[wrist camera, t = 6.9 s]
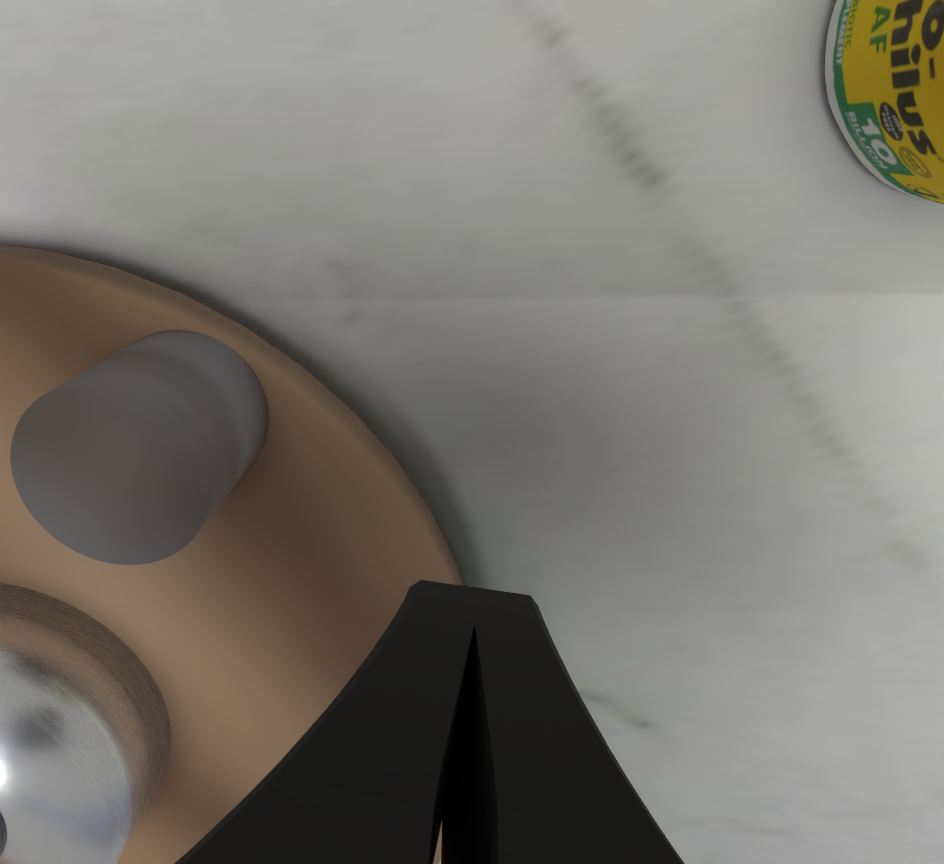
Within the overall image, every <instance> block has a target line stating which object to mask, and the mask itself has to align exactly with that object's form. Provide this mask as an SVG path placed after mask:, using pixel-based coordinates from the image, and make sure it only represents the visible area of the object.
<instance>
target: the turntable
mask: <svg viewBox="0 0 944 864" xmlns="http://www.w3.org/2000/svg"><path fill="white" fill-rule="evenodd" d="M420 580H426V581H433V582H440V583H447V584H454V585H461V586H463V583H462V580H461V577H460V574H459V571H458V568H457V565H456V562H455V559H454V557H453V555H452V553H451V551H450V549H449V547H448V545H447V543H446V541H445V539H444V537H443V535H442V533H441V531H440V529H439V527H438V525H437V523H436V521H435V519H434V517H433V515H432V513H431V511H430V509H429V507H428V506H427V504H426V503H425V501H424V500H423V498H422V497H421V496H420V494H419V493H418V491H417V490H416V488H415V487H414V485H413V484H412V482H411V481H410V479H409V478H408V477H407V475H406V474H405V472H404V471H403V469H402V468H401V466H400V465H399V463H398V462H397V460H396V459H395V458H394V457H393V455H392V454H391V453H390V452H389V451H388V450H387V449H386V448H385V446H384V445H383V444H382V443H381V442H380V441H379V440H378V439H377V437H376V436H375V435H374V434H373V433H372V432H371V431H370V430H369V428H368V427H367V426H366V425H365V424H364V423H363V422H362V421H361V419H360V418H359V417H358V416H357V415H356V414H355V413H354V412H353V410H351V409H350V408H349V407H348V406H347V405H346V404H345V403H343V402H342V401H341V400H340V399H339V398H338V397H337V396H336V395H334V394H333V393H332V392H331V391H330V390H329V389H328V388H326V387H325V386H324V385H323V384H322V383H321V382H320V381H319V380H317V379H316V378H315V377H314V376H313V375H312V374H311V373H309V372H308V371H307V370H306V369H305V368H304V367H303V366H301V365H300V364H298V363H297V362H295V361H294V360H293V359H291V358H290V357H288V356H287V355H285V354H284V353H282V352H281V351H280V350H278V349H277V348H275V347H274V346H272V345H271V344H269V343H268V342H267V341H265V340H264V339H262V338H261V337H259V336H258V335H256V334H255V333H253V332H252V331H251V330H249V329H248V328H246V327H245V326H243V325H241V324H239V323H237V322H235V321H233V320H231V319H230V318H228V317H226V316H224V315H222V314H220V313H218V312H216V311H214V310H213V309H211V308H209V307H207V306H205V305H203V304H201V303H199V302H198V301H196V300H194V299H192V298H190V297H188V296H186V295H184V294H182V293H180V292H177V291H175V290H172V289H169V288H167V287H164V286H162V285H159V284H157V283H154V282H151V281H149V280H146V279H144V278H141V277H139V276H136V275H133V274H131V273H128V272H126V271H123V270H121V269H118V268H115V267H111V266H107V265H103V264H100V263H96V262H92V261H88V260H84V259H80V258H76V257H72V256H68V255H64V254H60V253H56V252H52V251H49V250H42V249H34V248H26V247H18V246H10V245H2V244H0V583H4V584H9V585H14V586H20V587H24V588H27V589H31V590H34V591H37V592H41V593H44V594H47V595H49V596H51V597H54V598H56V599H59V600H61V601H63V602H66V603H68V604H70V605H71V606H73V607H75V608H77V609H79V610H81V611H83V612H84V613H86V614H88V615H89V616H91V617H92V618H94V619H95V620H97V621H98V622H100V623H101V624H103V625H104V626H105V627H107V628H108V629H109V630H110V631H111V632H113V633H114V634H115V635H116V636H117V637H119V638H120V639H121V640H122V641H123V642H124V643H125V644H126V645H127V646H128V647H129V648H130V649H131V650H132V651H133V652H134V653H135V654H136V655H137V657H138V658H139V659H140V661H141V662H142V663H143V664H144V666H145V667H146V668H147V670H148V671H149V673H150V674H151V676H152V678H153V679H154V681H155V683H156V684H157V686H158V688H159V690H160V692H161V695H162V697H163V700H164V702H165V704H166V708H167V712H168V716H169V719H170V727H171V752H170V756H169V760H168V764H167V768H166V770H165V772H164V774H163V777H162V779H161V781H160V783H159V785H158V787H157V788H156V790H155V792H154V794H153V796H152V798H151V800H150V801H149V803H148V805H147V807H146V809H145V811H144V813H143V815H142V816H141V818H140V820H139V822H138V824H137V826H136V828H135V830H134V831H133V833H132V835H131V837H130V839H129V841H128V843H127V844H126V846H125V848H124V850H123V852H122V854H121V856H120V858H119V859H118V861H117V863H116V864H174V863H175V862H177V861H178V860H179V859H180V858H181V857H182V856H183V855H185V854H186V853H187V852H188V851H189V850H190V849H191V848H192V847H193V846H195V845H196V844H197V843H198V842H199V841H200V840H201V839H202V838H203V837H204V836H205V835H206V834H207V833H208V832H209V831H210V830H212V829H213V828H214V827H215V826H216V825H217V824H218V823H219V822H220V821H221V820H222V819H223V818H224V817H225V816H226V815H227V814H228V813H229V812H230V811H231V810H233V809H234V808H235V807H236V806H237V805H238V804H239V803H240V802H241V801H242V800H243V799H244V798H245V797H246V796H247V795H248V794H249V793H250V792H251V791H252V790H253V789H254V788H255V787H256V786H257V785H258V784H259V783H260V781H261V780H262V779H263V778H264V777H265V776H266V775H267V774H268V773H269V772H270V771H271V770H272V769H273V768H274V767H275V766H276V765H277V764H278V763H279V762H280V761H281V760H282V758H283V757H284V756H285V755H286V754H287V753H288V752H289V751H290V749H291V748H292V747H293V746H294V745H295V744H296V743H297V741H298V740H299V739H300V738H301V737H302V736H303V735H304V734H305V732H306V731H307V730H308V729H309V728H310V727H311V726H312V725H313V723H314V722H315V721H316V720H317V719H318V718H319V717H320V715H321V714H322V713H323V712H324V711H325V710H326V709H327V708H328V706H329V705H330V704H331V703H332V702H333V700H334V699H335V698H336V697H337V695H338V694H339V693H340V692H341V690H342V689H343V688H344V686H345V685H346V684H347V682H348V681H349V680H350V679H351V677H352V676H353V675H354V673H355V672H356V671H357V669H358V668H359V667H360V666H361V664H362V663H363V662H364V660H365V659H366V658H367V656H368V655H369V654H370V652H371V651H372V650H373V648H374V647H375V645H376V644H377V642H378V641H379V639H380V638H381V636H382V635H383V634H384V632H385V631H386V629H387V628H388V626H389V625H390V623H391V621H392V620H393V618H394V617H395V615H396V613H397V611H398V610H399V608H400V606H401V604H402V602H403V601H404V599H405V597H406V594H407V592H408V590H409V587H411V586H412V585H414V584H415V583H417V582H418V581H420ZM441 849H442V823H441V828H440V833H439V838H438V843H437V848H436V853H435V858H434V863H433V864H438V863H439V861H440V859H441Z"/></svg>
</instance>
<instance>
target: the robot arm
mask: <svg viewBox="0 0 944 864" xmlns="http://www.w3.org/2000/svg"><path fill="white" fill-rule="evenodd" d="M441 823H442V849H441V864H684V862H683V861H682V859H681V858H680V857H679V855H678V854H677V852H676V851H675V850H674V848H673V847H672V845H671V844H670V842H669V841H668V839H667V838H666V836H665V835H664V833H663V832H662V831H661V829H660V828H659V826H658V825H657V823H656V822H655V820H654V819H653V817H652V815H651V814H650V812H649V811H648V809H647V808H646V806H645V805H644V803H643V802H642V800H641V798H640V797H639V795H638V794H637V792H636V791H635V789H634V788H633V786H632V784H631V783H630V781H629V780H628V778H627V777H626V775H625V773H624V772H623V770H622V768H621V767H620V765H619V763H618V762H617V760H616V758H615V757H614V755H613V753H612V752H611V750H610V749H609V747H608V745H607V743H606V741H605V740H604V738H603V736H602V734H601V733H600V731H599V729H598V727H597V725H596V724H595V722H594V720H593V718H592V717H591V715H590V713H589V711H588V709H587V708H586V706H585V704H584V702H583V701H582V699H581V697H580V695H579V693H578V691H577V689H576V687H575V685H574V683H573V682H572V680H571V678H570V676H569V674H568V672H567V670H566V668H565V665H564V663H563V661H562V659H561V657H560V655H559V653H558V651H557V649H556V647H555V645H554V643H553V640H552V638H551V636H550V634H549V631H548V629H547V627H546V624H545V622H544V620H543V617H542V615H541V612H540V610H539V607H538V605H537V604H536V603H535V601H534V600H533V598H532V597H531V596H530V595H524V594H517V593H510V592H503V591H496V590H489V589H482V588H475V587H468V586H461V585H454V584H447V583H440V582H433V581H426V580H420V581H418V582H417V583H415V584H414V585H412V586H411V587H409V590H408V592H407V594H406V597H405V599H404V601H403V602H402V604H401V606H400V608H399V610H398V611H397V613H396V615H395V617H394V618H393V620H392V621H391V623H390V625H389V626H388V628H387V629H386V631H385V632H384V634H383V635H382V636H381V638H380V639H379V641H378V642H377V644H376V645H375V647H374V648H373V650H372V651H371V652H370V654H369V655H368V656H367V658H366V659H365V660H364V662H363V663H362V664H361V666H360V667H359V668H358V669H357V671H356V672H355V673H354V675H353V676H352V677H351V679H350V680H349V681H348V682H347V684H346V685H345V686H344V688H343V689H342V690H341V692H340V693H339V694H338V695H337V697H336V698H335V699H334V700H333V702H332V703H331V704H330V705H329V706H328V708H327V709H326V710H325V711H324V712H323V713H322V714H321V715H320V717H319V718H318V719H317V720H316V721H315V722H314V723H313V725H312V726H311V727H310V728H309V729H308V730H307V731H306V732H305V734H304V735H303V736H302V737H301V738H300V739H299V740H298V741H297V743H296V744H295V745H294V746H293V747H292V748H291V749H290V751H289V752H288V753H287V754H286V755H285V756H284V757H283V758H282V760H281V761H280V762H279V763H278V764H277V765H276V766H275V767H274V768H273V769H272V770H271V771H270V772H269V773H268V774H267V775H266V776H265V777H264V778H263V779H262V780H261V781H260V783H259V784H258V785H257V786H256V787H255V788H254V789H253V790H252V791H251V792H250V793H249V794H248V795H247V796H246V797H245V798H244V799H243V800H242V801H241V802H240V803H239V804H238V805H237V806H236V807H235V808H234V809H233V810H231V811H230V812H229V813H228V814H227V815H226V816H225V817H224V818H223V819H222V820H221V821H220V822H219V823H218V824H217V825H216V826H215V827H214V828H213V829H212V830H210V831H209V832H208V833H207V834H206V835H205V836H204V837H203V838H202V839H201V840H200V841H199V842H198V843H197V844H196V845H195V846H193V847H192V848H191V849H190V850H189V851H188V852H187V853H186V854H185V855H183V856H182V857H181V858H180V859H179V860H178V861H177V862H175V863H174V864H433V863H434V858H435V853H436V848H437V843H438V838H439V833H440V828H441Z"/></svg>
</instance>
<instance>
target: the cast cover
mask: <svg viewBox="0 0 944 864" xmlns="http://www.w3.org/2000/svg"><path fill="white" fill-rule="evenodd" d="M170 752H171V727H170V719H169V716H168V712H167V708H166V704H165V702H164V700H163V697H162V695H161V692H160V690H159V688H158V686H157V684H156V683H155V681H154V679H153V678H152V676H151V674H150V673H149V671H148V670H147V668H146V667H145V666H144V664H143V663H142V662H141V661H140V659H139V658H138V657H137V655H136V654H135V653H134V652H133V651H132V650H131V649H130V648H129V647H128V646H127V645H126V644H125V643H124V642H123V641H122V640H121V639H120V638H119V637H117V636H116V635H115V634H114V633H113V632H111V631H110V630H109V629H108V628H107V627H105V626H104V625H103V624H101V623H100V622H98V621H97V620H95V619H94V618H92V617H91V616H89V615H88V614H86V613H84V612H83V611H81V610H79V609H77V608H75V607H73V606H71V605H70V604H68V603H66V602H63V601H61V600H59V599H56V598H54V597H51V596H49V595H47V594H44V593H41V592H37V591H34V590H31V589H27V588H24V587H20V586H14V585H9V584H4V583H0V864H116V863H117V861H118V859H119V858H120V856H121V854H122V852H123V850H124V848H125V846H126V844H127V843H128V841H129V839H130V837H131V835H132V833H133V831H134V830H135V828H136V826H137V824H138V822H139V820H140V818H141V816H142V815H143V813H144V811H145V809H146V807H147V805H148V803H149V801H150V800H151V798H152V796H153V794H154V792H155V790H156V788H157V787H158V785H159V783H160V781H161V779H162V777H163V774H164V772H165V770H166V768H167V764H168V760H169V756H170Z"/></svg>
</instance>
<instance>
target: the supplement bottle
mask: <svg viewBox="0 0 944 864" xmlns="http://www.w3.org/2000/svg"><path fill="white" fill-rule="evenodd" d="M825 82H826V89H827V95H828V101H829V104H830V107H831V110H832V112H833V115H834V118H835V120H836V122H837V123H838V125H839V127H840V129H841V131H842V133H843V135H844V137H845V139H846V140H847V142H848V144H849V146H850V147H851V149H852V150H853V152H854V154H855V155H856V156H857V157H858V159H859V160H860V161H861V162H862V164H863V165H864V166H865V167H866V168H867V169H868V170H869V171H870V172H871V173H872V174H873V175H875V176H876V177H877V178H878V179H879V180H881V181H882V182H883V183H885V184H887V185H889V186H890V187H892V188H894V189H896V190H898V191H900V192H903V193H905V194H907V195H910V196H913V197H916V198H920V199H924V200H929V201H934V202H938V203H943V204H944V0H837V1H836V4H835V7H834V9H833V13H832V17H831V20H830V24H829V29H828V35H827V41H826V53H825Z"/></svg>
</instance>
